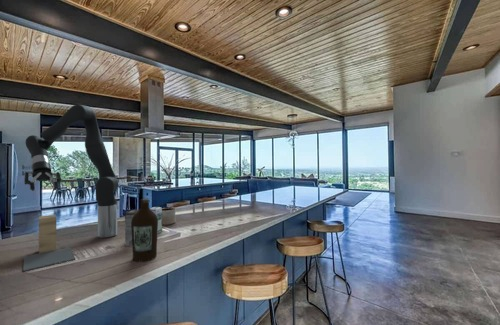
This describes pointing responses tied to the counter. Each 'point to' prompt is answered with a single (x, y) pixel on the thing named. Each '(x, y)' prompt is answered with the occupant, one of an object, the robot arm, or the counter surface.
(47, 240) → the oak block
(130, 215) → the coffee box
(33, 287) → the counter surface
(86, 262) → the counter surface
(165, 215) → the planter
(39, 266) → the rubber mat
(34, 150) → the robot arm
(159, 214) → the syrup box
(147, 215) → the olive oil
